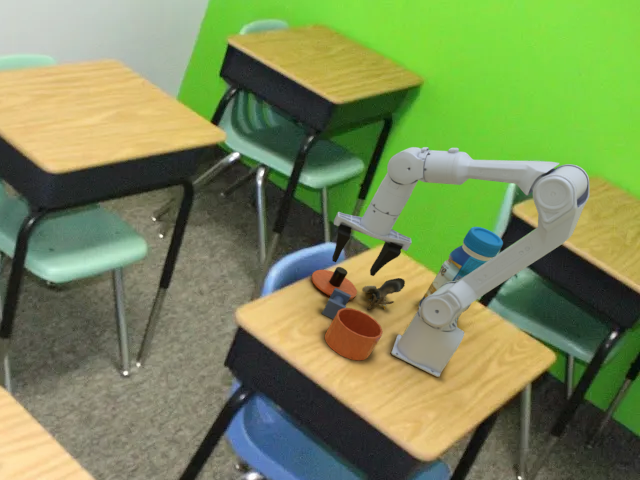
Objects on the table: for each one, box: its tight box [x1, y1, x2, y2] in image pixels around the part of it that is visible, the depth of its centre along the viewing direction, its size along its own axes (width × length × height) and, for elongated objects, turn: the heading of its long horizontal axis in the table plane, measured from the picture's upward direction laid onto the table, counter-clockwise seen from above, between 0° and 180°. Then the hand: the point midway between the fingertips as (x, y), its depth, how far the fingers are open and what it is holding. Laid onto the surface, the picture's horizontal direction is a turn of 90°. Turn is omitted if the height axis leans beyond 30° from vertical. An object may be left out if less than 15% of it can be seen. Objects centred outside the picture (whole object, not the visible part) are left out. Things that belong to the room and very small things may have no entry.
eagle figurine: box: [361, 277, 406, 311], centre depth 189 cm, size 8×7×9 cm
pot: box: [324, 307, 384, 361], centre depth 174 cm, size 9×9×5 cm
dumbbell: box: [321, 288, 351, 320], centre depth 183 cm, size 6×3×3 cm, turn 152°
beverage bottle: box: [418, 226, 504, 321], centre depth 188 cm, size 8×8×20 cm
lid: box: [311, 266, 358, 301], centre depth 190 cm, size 10×10×4 cm
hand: (352, 266), depth 181 cm, fingers open, 7 cm apart
